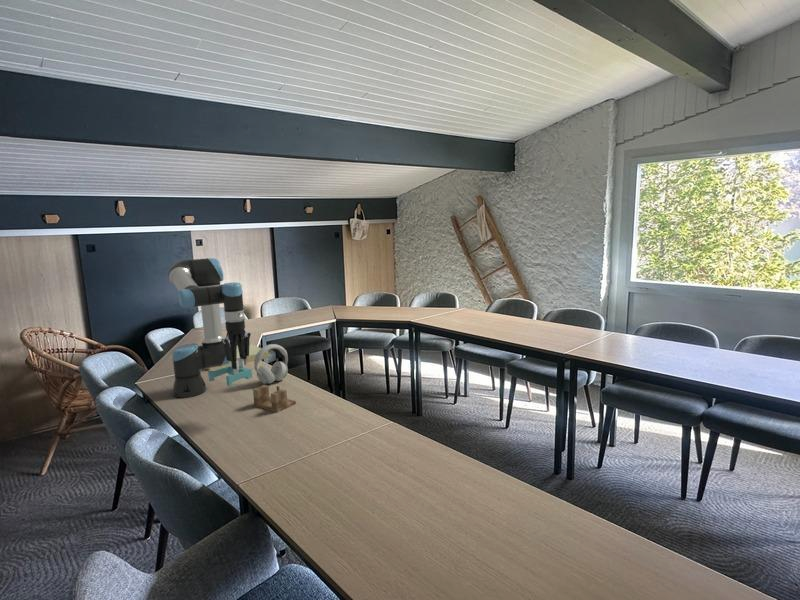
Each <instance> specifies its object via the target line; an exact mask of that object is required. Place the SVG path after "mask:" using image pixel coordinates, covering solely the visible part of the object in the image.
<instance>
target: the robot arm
mask: <svg viewBox="0 0 800 600" xmlns="http://www.w3.org/2000/svg"><path fill="white" fill-rule="evenodd" d="M167 278H168V281H169V282H170V284H171V285H172V286H174V287H176V289H177V290H178V302H179V305H180V307H181V308H184V309H185V308H195V307H196V308H197V307H200V311H201V318H202V319H201V320H202V327H203V328H202V329H203V335H204V337H203V339H202V341H201V345H198V343H194V342H193V343H187V344H183V345H180V346H178V347H175V348H174V349H173V350H172V354H171V355H172V359H171V361H172V365H173V374H174V383H173V386H172V396H173V397H174V398H178V397H180V399H181V398H182V399H184V398H183V397H186V398H191V397H196V396H199V395H201V394H204V393H205V392H206V391H207V384H206V383H205V381H204V378H203V377H202V376H203V375H202V374H201V373H202V371H201V370H206V369H207V368H212V367H217V366H222V365H226V364H228V363H229V362H230V361H231V363H232V369H233V370H234V374H237V373H239V367H243V368H246V362H245V359H247V356H249V345H250V339H251V334H252V333H251V332H246V330H245V328H246V322H245V320H244V319H245V311H244V299H243V292H244V291H243V289H242V284H241V283H240V282H226V283H224V284H221V282H223V281H224V271H223V268H222V265H221V262H220V261H219V260H218V259H217V258H214V257H213V258H210V257H209V258H196V259H184V260H180V261H178V262H175V264H173V265H172V266H171V267H170V268H169V269H168V272H167ZM220 304H223V311H224V312H223V313H224V320H225V324H224V325H225V330H226V334H225V335H226V336H224V333H223V326H222V325H223V324H222V318H221V317H222V315H221V307H220ZM237 348H238V350H239V355H240V358H239V359H238V361H239V362H238V361H237ZM207 370H208V369H207Z"/></svg>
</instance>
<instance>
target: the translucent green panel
mask: <svg viewBox="0 0 800 600" xmlns="http://www.w3.org/2000/svg"><path fill="white" fill-rule="evenodd" d="M262 348H263V347H259V346H257V345H255V344H249V356H247V359H245V362H246V363H250V362H255V361H254V360H255V357H256V355H257V353H258V352H259V350H260V349H262ZM269 356H270V355H269V350H268V351H267V352H266V353H265V354H264V355H263V356H262V358H261V360H264V359H269V358H270V357H269ZM239 358H240V355H239V350H238V347H237V361H238V359H239ZM238 362H239V361H238ZM230 365H232V363H231V361H230V362H229V363H228V364H226V365H222V366H217V367H212V368H207V370H208V371H209V370H211V371H215V370H218V369H221V368H224V367H227V366H230Z"/></svg>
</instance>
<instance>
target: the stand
mask: <svg viewBox="0 0 800 600" xmlns="http://www.w3.org/2000/svg"><path fill="white" fill-rule="evenodd" d="M252 395H253V396H252V397H253V407H256V408H259V407H260V408H259V409H263V408H264V409H263V410H267V409H268V410H267V411H270V410H271V412H274V411H275V412H274V413H280V412H281V410H282V411H283V409H284V410H287V409H288V408H290V407H292V406H295V405H296V404H297V402H296V400H292V399H288V393H287V389H284V388H282V389H281V388H280V385H277V386H276V391H273V392H271V393H270V389H269V385H267V384H262V385H260V386H257V387H255V388H253V389H252ZM287 407H288V408H287ZM279 411H280V412H279Z"/></svg>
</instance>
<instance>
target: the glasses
mask: <svg viewBox="0 0 800 600" xmlns="http://www.w3.org/2000/svg"><path fill="white" fill-rule="evenodd" d="M226 374H228V375H226ZM207 375H208V381H209V382H214V381H215V378H217V377H219V376H223V375H226V376H225V378H226V386H228V387H231V386H233V383H234V382H236V381H240V380H242V379H246V380H249V379H251V378H253V372H252V368H247V367H245V368H243V367H239V373H237V374H234V370H233V369H232V365H230V366H227V367H224V368H220V369H215V370H211V371H209V370H208V371H207Z"/></svg>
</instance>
